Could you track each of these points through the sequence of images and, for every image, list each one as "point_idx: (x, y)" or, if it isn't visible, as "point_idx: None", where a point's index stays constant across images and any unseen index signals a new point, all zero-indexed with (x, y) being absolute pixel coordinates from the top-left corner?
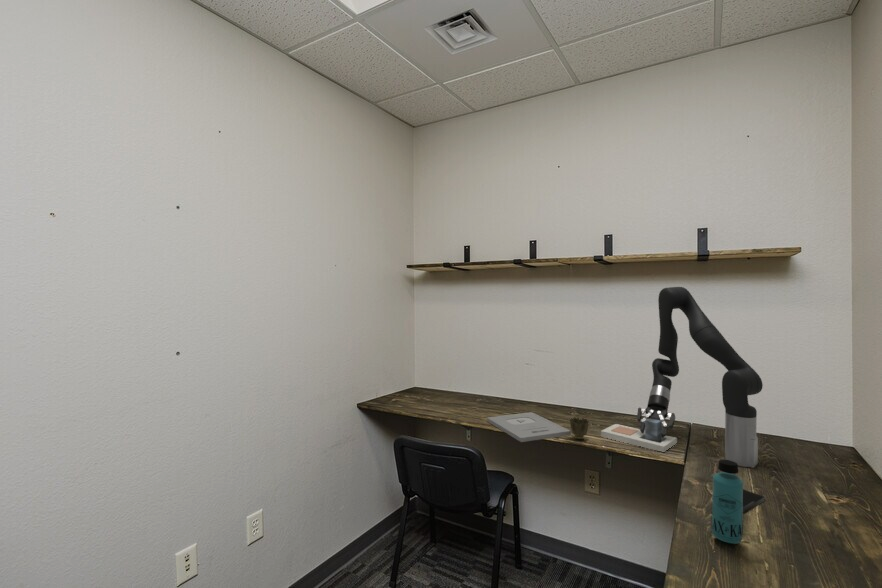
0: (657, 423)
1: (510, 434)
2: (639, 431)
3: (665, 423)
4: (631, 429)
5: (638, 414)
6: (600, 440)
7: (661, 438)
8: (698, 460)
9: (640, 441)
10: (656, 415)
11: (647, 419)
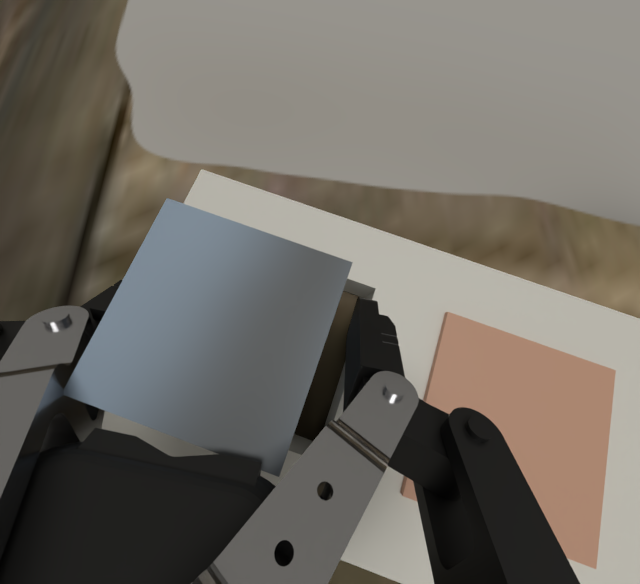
0: (163, 218)
1: None
2: (388, 488)
3: (27, 339)
4: None
5: (539, 551)
6: (593, 258)
7: None
8: (36, 164)
9: (358, 226)
10: (77, 553)
11: (319, 358)
